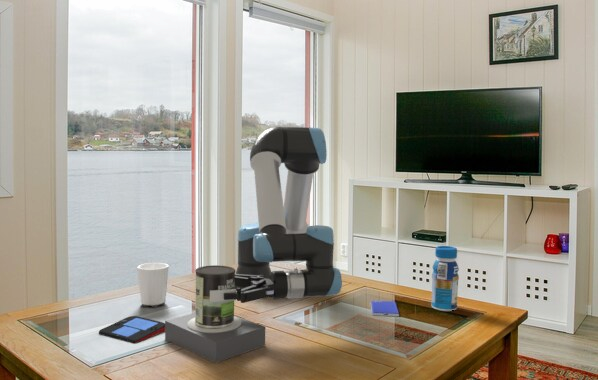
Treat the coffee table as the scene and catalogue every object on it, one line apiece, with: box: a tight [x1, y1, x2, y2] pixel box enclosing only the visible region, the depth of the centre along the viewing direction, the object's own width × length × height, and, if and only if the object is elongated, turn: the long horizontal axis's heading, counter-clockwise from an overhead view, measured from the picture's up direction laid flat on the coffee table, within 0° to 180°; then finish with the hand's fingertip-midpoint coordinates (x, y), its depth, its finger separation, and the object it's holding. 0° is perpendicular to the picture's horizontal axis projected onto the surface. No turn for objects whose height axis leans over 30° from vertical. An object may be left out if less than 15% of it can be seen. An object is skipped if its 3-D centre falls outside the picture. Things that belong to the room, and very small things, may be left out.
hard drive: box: [370, 300, 400, 317], centre depth 168 cm, size 2×8×12 cm
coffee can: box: [194, 265, 236, 329], centre depth 137 cm, size 10×10×14 cm
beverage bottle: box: [430, 245, 460, 312], centre depth 170 cm, size 8×8×20 cm
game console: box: [98, 315, 165, 344], centre depth 145 cm, size 14×13×2 cm
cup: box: [136, 262, 170, 308], centre depth 169 cm, size 10×10×13 cm
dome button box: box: [164, 312, 266, 364], centre depth 138 cm, size 22×16×6 cm
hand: (206, 289), depth 137 cm, fingers open, 13 cm apart
